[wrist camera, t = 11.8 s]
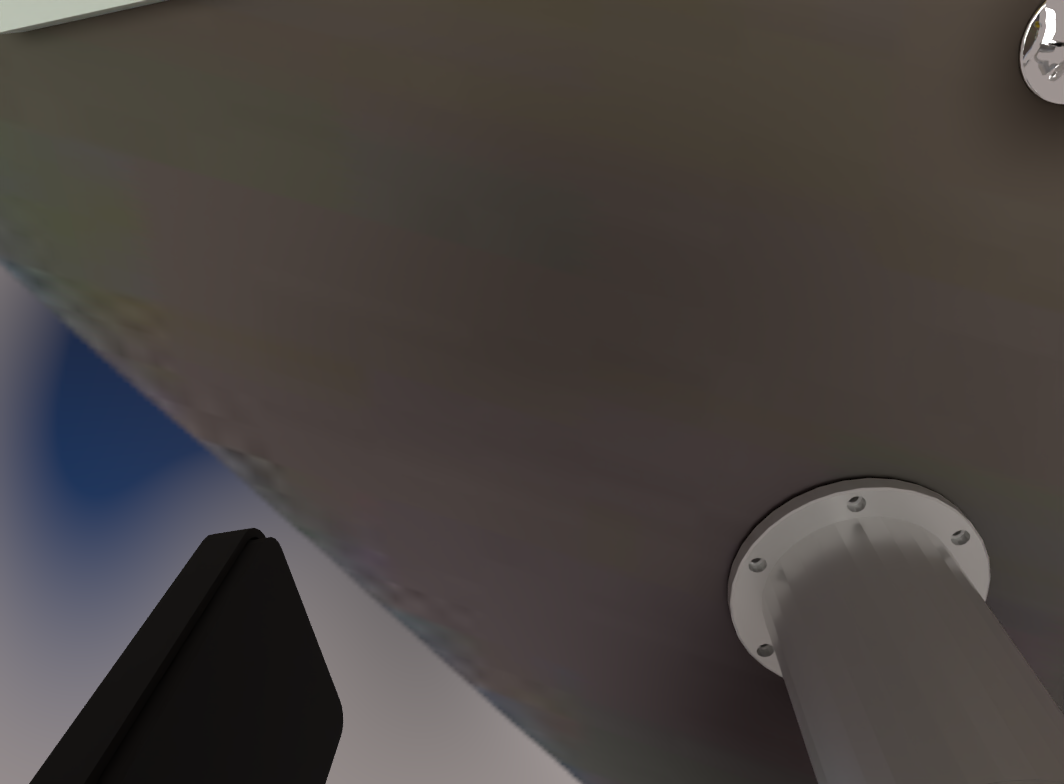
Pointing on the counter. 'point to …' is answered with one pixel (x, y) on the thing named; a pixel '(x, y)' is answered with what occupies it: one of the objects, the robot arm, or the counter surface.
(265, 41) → the counter surface
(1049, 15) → the wineglass
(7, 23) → the tray
